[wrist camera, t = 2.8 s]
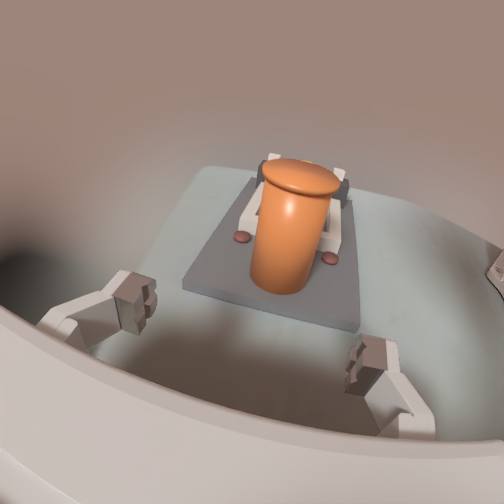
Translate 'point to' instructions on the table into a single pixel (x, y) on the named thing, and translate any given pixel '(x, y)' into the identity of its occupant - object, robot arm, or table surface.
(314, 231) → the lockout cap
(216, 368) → the table surface
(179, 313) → the table surface
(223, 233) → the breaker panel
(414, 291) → the table surface
